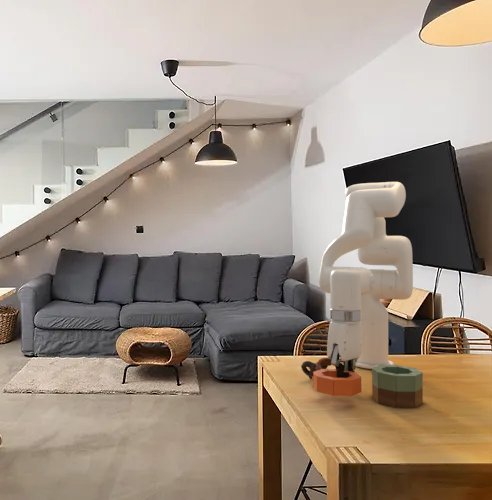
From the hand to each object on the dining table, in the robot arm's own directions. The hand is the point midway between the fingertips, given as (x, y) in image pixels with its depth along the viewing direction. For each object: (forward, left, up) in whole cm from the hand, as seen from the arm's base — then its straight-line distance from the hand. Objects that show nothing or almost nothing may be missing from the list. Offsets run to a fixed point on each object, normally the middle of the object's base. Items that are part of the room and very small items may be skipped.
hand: (345, 384), depth 141 cm
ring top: (0, -4, 0) cm, 5 cm away
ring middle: (+10, +8, 0) cm, 13 cm away
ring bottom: (+10, +8, -4) cm, 13 cm away
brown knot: (-12, +9, -4) cm, 15 cm away
